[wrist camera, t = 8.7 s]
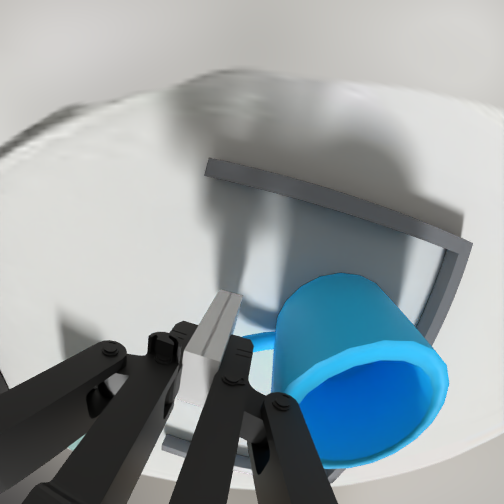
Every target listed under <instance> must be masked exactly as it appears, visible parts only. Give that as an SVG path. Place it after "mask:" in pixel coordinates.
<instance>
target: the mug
mask: <svg viewBox="0 0 504 504" xmlns="http://www.w3.org/2000/svg"><path fill="white" fill-rule="evenodd" d="M243 338H247V339H250V340H251V341H252V343H253V345H254V349H253V352H257V351H262V350H269V349H274V355H273V371H272V386H271V393H273V392H281V393H286V394H288V395H290V396H292V397H293V398H294V399H296V401H297V402H298V404H299V406H300V409H301V411H302V414H303V416H304V419H305V422H306V424H307V427H308V429H309V432H310V434H311V437H312V440H313V442H314V445H315V447H316V450H317V452H318V455H319V457H320V460H321V463H322V465H323V468H324V469H341V468H352V467H356V466H361V465H365V464H369V463H373V462H375V461H378V460H380V459H383V458H385V457H387V456H389V455H392V454H394V453H396V452H397V451H399V450H400V449H402V448H403V447H405V446H406V445H408V444H409V443H411V442H412V441H414V440H415V439H416V438H417V437H418V436H419V435H420V434H421V433H422V432H423V431H424V430H425V429H426V428H427V427H428V426H429V425H430V424H431V423H432V422H433V421H434V419H435V417H436V416H437V414H438V413H439V411H440V409H441V408H442V406H443V404H444V402H445V398H446V394H447V391H448V387H449V378H448V371H447V365H446V364H445V363H444V361H443V360H442V359H441V357H440V356H439V355H438V354H437V352H436V351H435V350H434V349H433V347H432V346H431V345H430V344H429V343H428V341H427V340H426V339H425V338H424V337H423V335H422V334H421V333H420V332H419V331H418V330H417V328H416V327H415V326H414V325H413V324H412V323H411V322H410V320H409V319H408V318H407V317H406V316H405V315H404V314H403V313H402V311H401V310H400V309H399V308H398V307H397V306H396V305H395V304H394V303H393V301H392V300H391V299H390V298H389V297H388V296H387V295H386V294H385V293H384V292H383V291H382V289H381V288H380V287H379V286H378V285H377V284H376V283H374V282H372V281H370V280H368V279H366V278H364V277H362V276H360V275H354V274H346V273H336V274H331V275H326V276H320V277H318V278H316V279H314V280H312V281H310V282H308V283H307V284H305V285H303V286H301V287H300V288H299V289H298V290H297V291H296V292H295V293H294V294H293V295H292V296H291V297H290V298H288V299H287V301H286V302H285V304H284V306H283V308H282V310H281V311H280V313H279V315H278V317H277V323H276V329H275V332H263V333H258V334H252V335H247V336H243Z"/></svg>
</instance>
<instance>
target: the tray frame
mask: <svg viewBox="0 0 504 504" xmlns="http://www.w3.org/2000/svg"><path fill="white" fill-rule="evenodd" d="M204 176H208V177H213V178H217V179H221V180H226V181H230V182H234V183H238V184H242V185H246V186H250V187H254V188H258V189H262V190H266V191H270V192H274V193H277V194H281V195H285V196H288V197H292V198H296V199H299V200H303V201H306V202H310V203H313V204H316V205H320V206H323V207H326V208H330V209H333V210H336V211H340V212H343V213H346V214H349V215H352V216H355V217H359V218H362V219H365V220H368V221H371V222H374V223H377V224H380V225H383V226H386V227H388V228H391V229H394V230H397V231H400V232H403V233H405V234H408V235H411V236H414V237H416V238H419V239H422V240H424V241H427V242H430V243H432V244H435V245H438V246H440V247H443V248H445V249H447V251H446V254H445V257H444V260H443V263H442V266H441V269H440V272H439V274H438V277H437V280H436V282H435V285H434V288H433V290H432V293H431V295H430V298H429V300H428V303H427V305H426V307H425V310H424V312H423V314H422V316H421V319H420V321H419V323H418V325H417V327H416V328H417V330H418V331H419V332H420V333H421V334H422V335H423V337H424V338H425V339H426V340H427V341H428V343H429V344H430V345H431V346H432V345H433V343H434V341H435V339H436V337H437V335H438V333H439V331H440V328H441V326H442V324H443V322H444V320H445V318H446V315H447V313H448V311H449V309H450V306H451V304H452V301H453V299H454V297H455V294H456V292H457V289H458V286H459V284H460V281H461V278H462V276H463V273H464V270H465V267H466V264H467V261H468V258H469V255H470V252H471V248H472V245H473V243H471V242H469V241H467V240H465V239H463V238H460V237H458V236H456V235H454V234H451V233H449V232H447V231H444V230H442V229H440V228H437V227H435V226H432V225H430V224H428V223H425V222H423V221H420V220H418V219H415V218H412V217H410V216H407V215H405V214H402V213H399V212H397V211H394V210H391V209H388V208H386V207H383V206H380V205H377V204H374V203H372V202H369V201H366V200H363V199H360V198H357V197H354V196H351V195H348V194H345V193H342V192H338V191H335V190H332V189H329V188H326V187H322V186H319V185H316V184H312V183H309V182H305V181H302V180H298V179H295V178H291V177H287V176H284V175H280V174H276V173H272V172H268V171H264V170H260V169H256V168H252V167H248V166H244V165H240V164H235V163H231V162H226V161H222V160H217V159H212V158H209V159H208V163H207V167H206V171H205V175H204ZM190 443H191V442H189V441H186V440H183V439H180V438H177V437H174V436H171V435H168V434H167V435H166V437H165V439H164V441H163V443H162V450H164V451H166V452H169V453H172V454H175V455H178V456H181V457H184V458H185V457H186V455H187V452H188V449H189V446H190ZM345 469H346V468H341V469H324V470H325V473H326V475H327V478H328V480H329V483H333V482H334V481H335V480H336V479H337V478H338V477H339V476H340V474H341V473H342V472H343V471H344V470H345ZM233 471H236V472H241V473H246V474H251V475H253V474H252V468H251V463H250V457H246V456H241V455H237V454H236V458H235V463H234V468H233Z"/></svg>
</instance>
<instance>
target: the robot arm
mask: <svg viewBox="0 0 504 504" xmlns="http://www.w3.org/2000/svg"><path fill="white" fill-rule="evenodd" d="M242 298H243V296H242V295H239V294H235V293H232V292H228V291H224V290H221V289H220V290H219V292H218V293H217V295H216V297H215V298H214V300H213V302H212V303H211V305H210V307H209V308H208V310H207V312H206V314H205V315H204V317H203V319H202V320H201V322H200V324H199V325H195V324H192V323H189V322H186V321H182V322H179V323H177V324H176V325H175V326H174V327H173V329H172V331H170V333H166V332H156V333H152V334H151V335H149V338H148V352H147V354H146V355H145V356H138V355H131V354H127V351H126V349H125V347H124V346H123V345H122V344H120V343H118V342H116V341H111V340H108V341H102V342H99V343H97V344H95V345H93V346H91V347H89V348H88V349H86V350H84V351H82V352H80V353H78V354H76V355H74V356H73V357H71V358H69V359H67V360H65V361H63V362H61V363H59V364H57V365H55V366H54V367H52V368H50V369H48V370H46V371H44V372H42V373H40V374H38V375H36V376H35V377H33V378H31V379H29V380H27V381H25V382H23V383H21V384H19V385H17V386H15V387H13V388H12V389H10V390H8V387H7V385H6V383H5V381H4V379H3V377H2V375H1V373H0V494H1V493H2V492H4V491H6V490H8V489H9V488H11V487H12V486H14V485H15V484H17V483H18V482H20V481H21V480H23V479H24V478H25V477H27V476H28V475H30V474H31V473H33V472H34V471H35V470H37V469H38V468H40V467H41V466H43V465H44V464H45V463H47V462H48V461H50V460H51V459H52V458H54V457H55V456H56V455H58V454H59V453H60V452H62V451H63V450H65V449H66V448H67V447H69V446H70V445H71V444H73V443H74V442H75V441H77V440H78V439H79V438H81V437H82V436H83V435H85V436H84V437H83V438H82V440H81V441H80V442H79V444H78V445H77V446H76V448H75V449H74V451H73V452H72V453H71V455H70V456H69V458H68V459H67V460H66V462H65V463H64V464H63V466H62V467H61V468H60V470H59V471H58V473H57V474H56V475H55V477H54V478H53V480H51V481H50V482H47V483H40V484H38V485H36V486H35V487H34V488H33V489H32V490H31V492H30V493H29V494H28V496H27V497H26V499H25V500H24V501H23V503H22V504H127V501H128V500H129V498H130V496H131V493H132V491H133V489H134V487H135V485H136V483H137V481H138V479H139V477H140V475H141V473H142V471H143V469H144V467H145V465H146V462H147V460H148V458H149V456H150V454H151V452H152V450H153V448H154V446H155V444H156V442H157V440H158V438H159V436H160V434H161V432H162V430H163V427H164V425H165V423H166V421H167V419H168V417H169V415H170V413H171V411H172V409H173V406H174V399H175V397H176V395H177V393H178V395H177V399H178V400H181V401H184V402H187V403H190V404H193V405H196V406H199V407H203V410H202V412H201V415H200V418H199V421H198V424H197V426H196V429H195V432H194V435H193V438H192V440H191V443H190V446H189V449H188V452H187V455H186V457H185V460H184V463H183V466H182V468H181V471H180V474H179V477H178V480H177V482H176V485H175V488H174V491H173V493H172V496H171V499H170V502H169V504H226V503H227V499H228V493H229V489H230V483H231V478H232V473H233V468H234V463H235V458H236V452H237V447H238V442H239V437H241V438H243V439H245V440H247V446H248V452H249V457H250V463H251V468H252V474H253V479H254V484H255V490H256V495H257V499H258V504H338V503H337V500H336V498H335V495H334V493H333V490H332V488H331V485H330V483H329V480H328V478H327V475H326V473H325V470H324V468H323V465H322V463H321V460H320V457H319V455H318V452H317V450H316V447H315V445H314V442H313V440H312V437H311V434H310V432H309V429H308V427H307V424H306V422H305V419H304V416H303V414H302V411H301V409H300V406H299V404H298V402H297V401H296V399H294V398H293V397H292V396H290V395H288V394H286V393H281V392H273V393H270V394H268V395H267V396H265V395H263V394H261V393H259V392H257V391H256V390H255V389H253V388H252V387H251V385H250V384H249V381H248V376H249V371H250V365H251V360H252V354H253V349H254V345H253V343H252V341H251V340H250V339H247V338H243V337H239V336H235V335H233V332H234V329H235V325H236V321H237V317H238V313H239V309H240V306H241V302H242Z"/></svg>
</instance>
